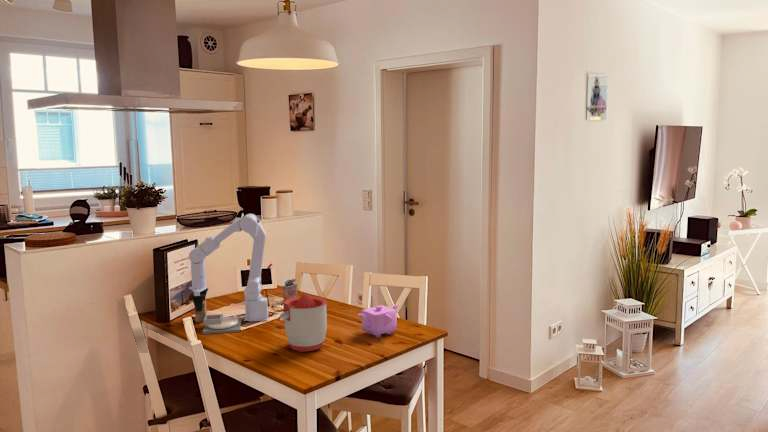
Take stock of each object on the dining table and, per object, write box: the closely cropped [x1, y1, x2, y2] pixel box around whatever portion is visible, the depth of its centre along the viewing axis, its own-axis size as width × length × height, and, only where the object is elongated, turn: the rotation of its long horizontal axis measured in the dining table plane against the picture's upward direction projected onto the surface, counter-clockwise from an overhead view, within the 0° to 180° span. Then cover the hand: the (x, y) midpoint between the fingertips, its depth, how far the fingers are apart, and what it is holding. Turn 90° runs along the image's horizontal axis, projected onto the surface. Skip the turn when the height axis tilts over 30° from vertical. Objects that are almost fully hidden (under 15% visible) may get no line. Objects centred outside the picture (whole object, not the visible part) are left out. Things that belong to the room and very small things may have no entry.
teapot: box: [357, 304, 400, 338], centre depth 232 cm, size 15×13×11 cm
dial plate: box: [201, 318, 243, 335], centre depth 242 cm, size 14×14×1 cm
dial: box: [203, 313, 239, 329], centre depth 242 cm, size 13×12×3 cm
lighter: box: [282, 278, 298, 303], centre depth 279 cm, size 8×3×10 cm, turn 143°
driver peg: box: [194, 299, 208, 323], centre depth 251 cm, size 4×4×8 cm
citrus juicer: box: [279, 293, 328, 353], centre depth 217 cm, size 16×17×20 cm
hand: (200, 308), depth 251 cm, fingers open, 7 cm apart
